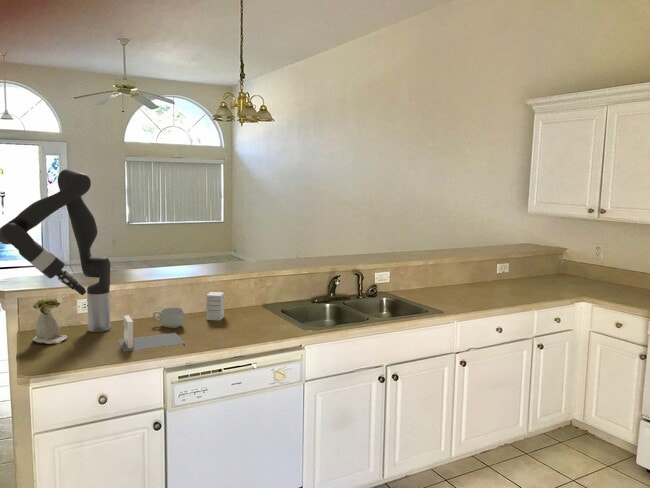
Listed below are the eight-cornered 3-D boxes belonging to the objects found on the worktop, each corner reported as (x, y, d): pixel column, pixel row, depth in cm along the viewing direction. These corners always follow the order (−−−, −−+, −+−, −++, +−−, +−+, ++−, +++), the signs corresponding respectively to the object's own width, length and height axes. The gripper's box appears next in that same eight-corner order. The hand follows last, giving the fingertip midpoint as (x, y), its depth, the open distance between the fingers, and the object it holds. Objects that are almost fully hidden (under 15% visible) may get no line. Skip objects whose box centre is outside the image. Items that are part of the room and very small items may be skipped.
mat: (118, 341, 215) (118, 339, 215) (175, 334, 227) (175, 332, 227) (123, 353, 202) (123, 351, 201) (184, 345, 213) (184, 343, 213)
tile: (124, 341, 214) (123, 315, 212) (130, 340, 215) (129, 315, 213) (128, 348, 205) (127, 322, 204) (134, 347, 206) (133, 321, 205)
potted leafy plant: (47, 347, 206) (45, 303, 203) (25, 342, 211) (22, 299, 208) (72, 339, 217) (70, 296, 214) (50, 334, 222) (48, 293, 219)
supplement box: (210, 316, 258) (210, 291, 257) (224, 316, 258) (224, 292, 256) (206, 320, 251) (206, 295, 249) (220, 320, 251) (221, 295, 249)
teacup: (186, 324, 244) (186, 307, 243) (180, 330, 233) (179, 313, 232) (158, 322, 244) (157, 306, 243) (149, 329, 233) (149, 312, 232)
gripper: (55, 259, 187) (93, 288, 195) (54, 253, 199) (89, 281, 207) (40, 274, 185) (78, 303, 193) (39, 267, 197) (75, 295, 205)
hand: (83, 292), depth 200 cm, fingers open, 3 cm apart
